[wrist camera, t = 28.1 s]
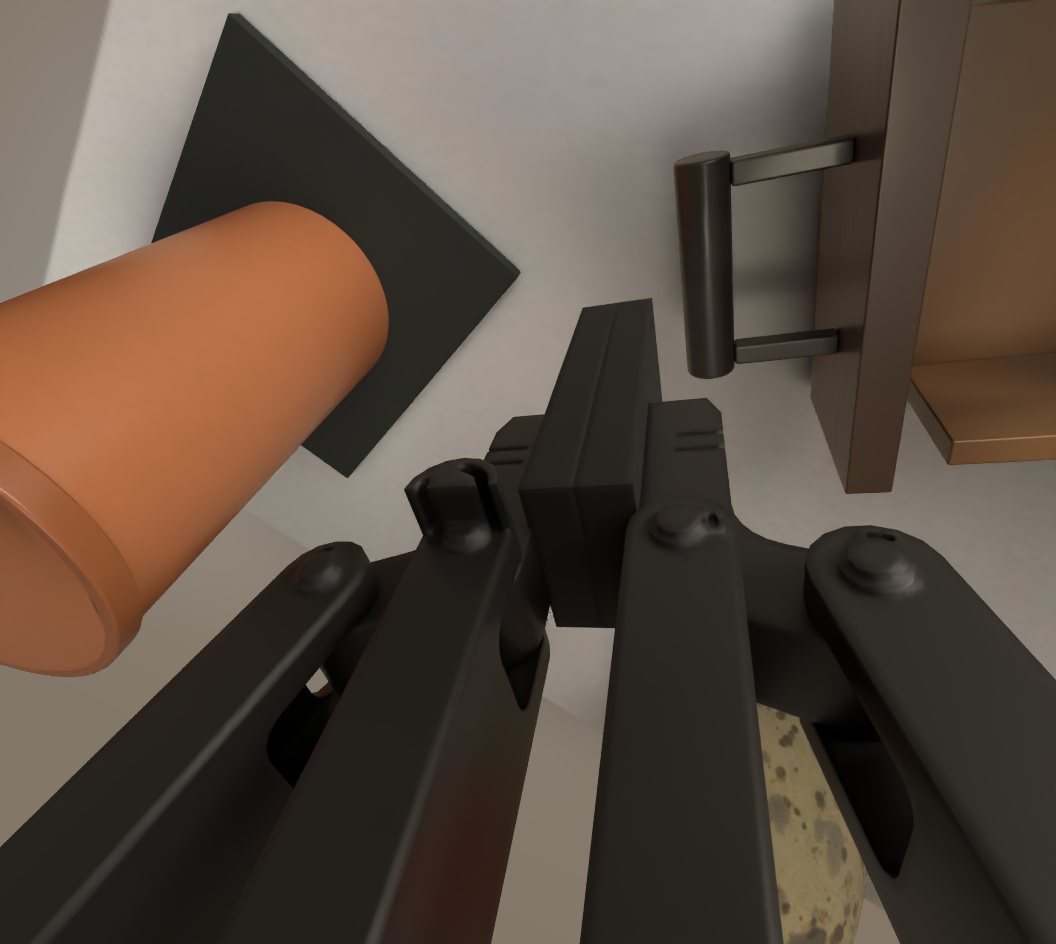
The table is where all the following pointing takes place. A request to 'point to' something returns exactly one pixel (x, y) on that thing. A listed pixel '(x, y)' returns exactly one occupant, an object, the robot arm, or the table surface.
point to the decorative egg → (808, 839)
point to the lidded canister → (162, 414)
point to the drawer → (910, 237)
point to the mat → (337, 221)
